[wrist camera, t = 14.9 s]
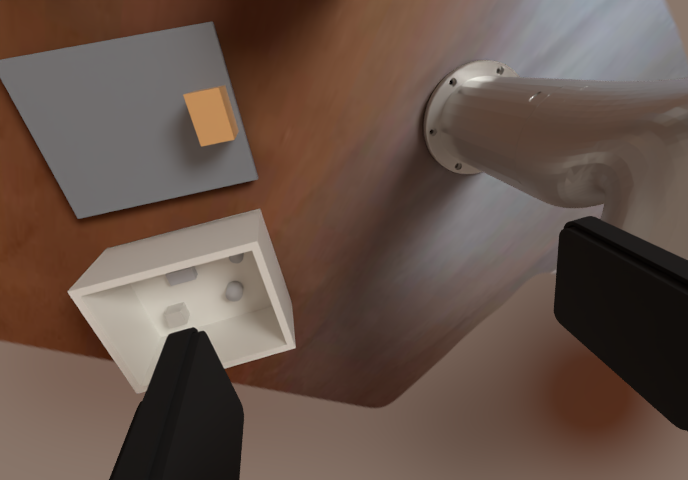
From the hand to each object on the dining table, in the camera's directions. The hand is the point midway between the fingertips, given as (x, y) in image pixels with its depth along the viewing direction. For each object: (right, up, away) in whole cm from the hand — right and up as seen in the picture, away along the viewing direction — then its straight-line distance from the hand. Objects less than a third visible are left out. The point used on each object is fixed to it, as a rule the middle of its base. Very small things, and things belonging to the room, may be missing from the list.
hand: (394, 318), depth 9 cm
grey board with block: (-22, +14, +28) cm, 38 cm away
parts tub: (-18, -3, +36) cm, 41 cm away
